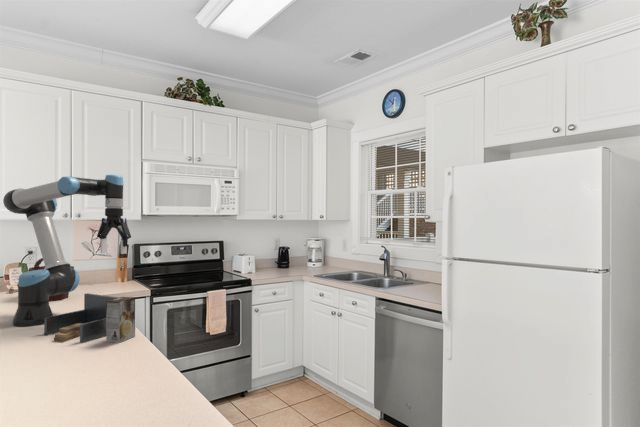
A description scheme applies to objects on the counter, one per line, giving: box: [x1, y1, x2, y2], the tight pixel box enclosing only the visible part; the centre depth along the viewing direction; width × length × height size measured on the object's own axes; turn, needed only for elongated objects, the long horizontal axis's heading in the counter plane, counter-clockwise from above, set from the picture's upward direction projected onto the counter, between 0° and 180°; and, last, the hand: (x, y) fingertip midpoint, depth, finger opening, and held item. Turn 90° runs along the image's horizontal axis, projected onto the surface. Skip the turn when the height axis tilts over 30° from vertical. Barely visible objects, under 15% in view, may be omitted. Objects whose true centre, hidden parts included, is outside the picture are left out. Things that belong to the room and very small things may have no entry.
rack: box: [43, 292, 120, 344], centre depth 171 cm, size 24×19×14 cm
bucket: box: [27, 257, 75, 303], centre depth 239 cm, size 24×22×25 cm
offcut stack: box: [53, 323, 83, 343], centre depth 165 cm, size 12×6×4 cm, turn 166°
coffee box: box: [105, 296, 136, 344], centre depth 163 cm, size 9×6×16 cm
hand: (113, 253), depth 191 cm, fingers open, 13 cm apart
